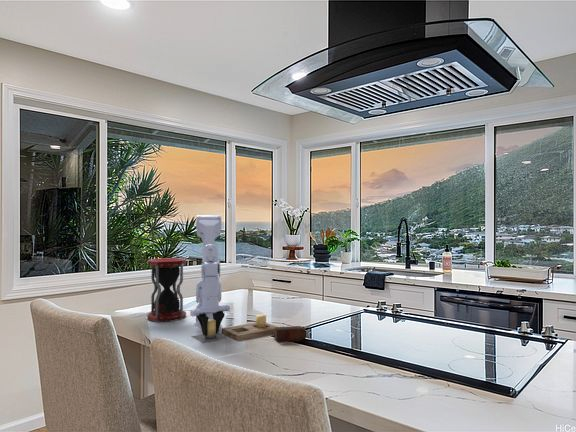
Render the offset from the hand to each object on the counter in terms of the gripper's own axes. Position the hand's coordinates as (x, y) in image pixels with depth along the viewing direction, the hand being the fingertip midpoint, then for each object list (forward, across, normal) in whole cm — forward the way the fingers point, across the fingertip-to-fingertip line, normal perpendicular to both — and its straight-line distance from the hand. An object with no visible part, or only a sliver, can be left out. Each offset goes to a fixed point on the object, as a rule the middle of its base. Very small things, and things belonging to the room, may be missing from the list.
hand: (210, 333), depth 147 cm
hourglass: (+2, -1, +40) cm, 40 cm away
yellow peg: (+1, 0, 0) cm, 1 cm away
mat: (+2, 0, 0) cm, 2 cm away
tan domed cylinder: (+2, +20, -3) cm, 20 cm away
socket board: (+2, +15, -3) cm, 15 cm away
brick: (+2, +22, -19) cm, 29 cm away
